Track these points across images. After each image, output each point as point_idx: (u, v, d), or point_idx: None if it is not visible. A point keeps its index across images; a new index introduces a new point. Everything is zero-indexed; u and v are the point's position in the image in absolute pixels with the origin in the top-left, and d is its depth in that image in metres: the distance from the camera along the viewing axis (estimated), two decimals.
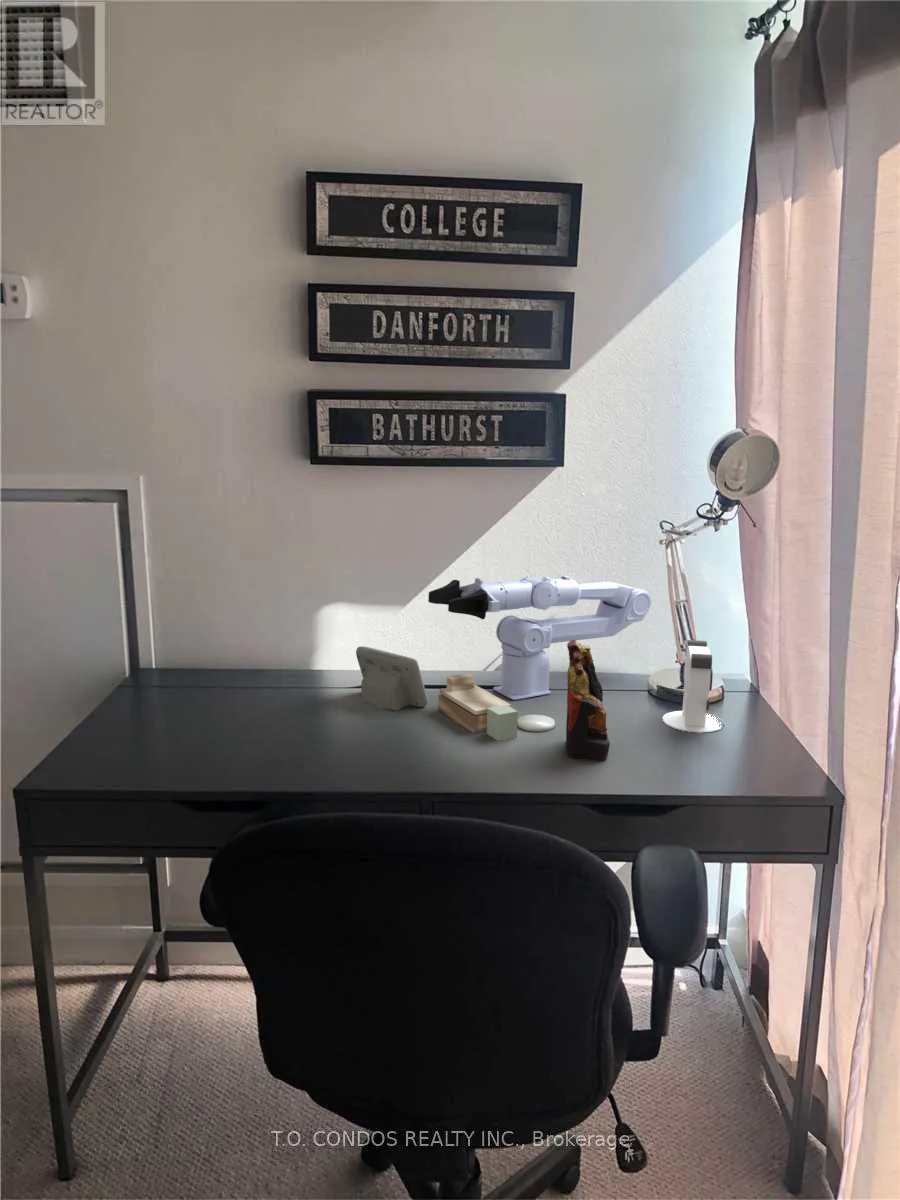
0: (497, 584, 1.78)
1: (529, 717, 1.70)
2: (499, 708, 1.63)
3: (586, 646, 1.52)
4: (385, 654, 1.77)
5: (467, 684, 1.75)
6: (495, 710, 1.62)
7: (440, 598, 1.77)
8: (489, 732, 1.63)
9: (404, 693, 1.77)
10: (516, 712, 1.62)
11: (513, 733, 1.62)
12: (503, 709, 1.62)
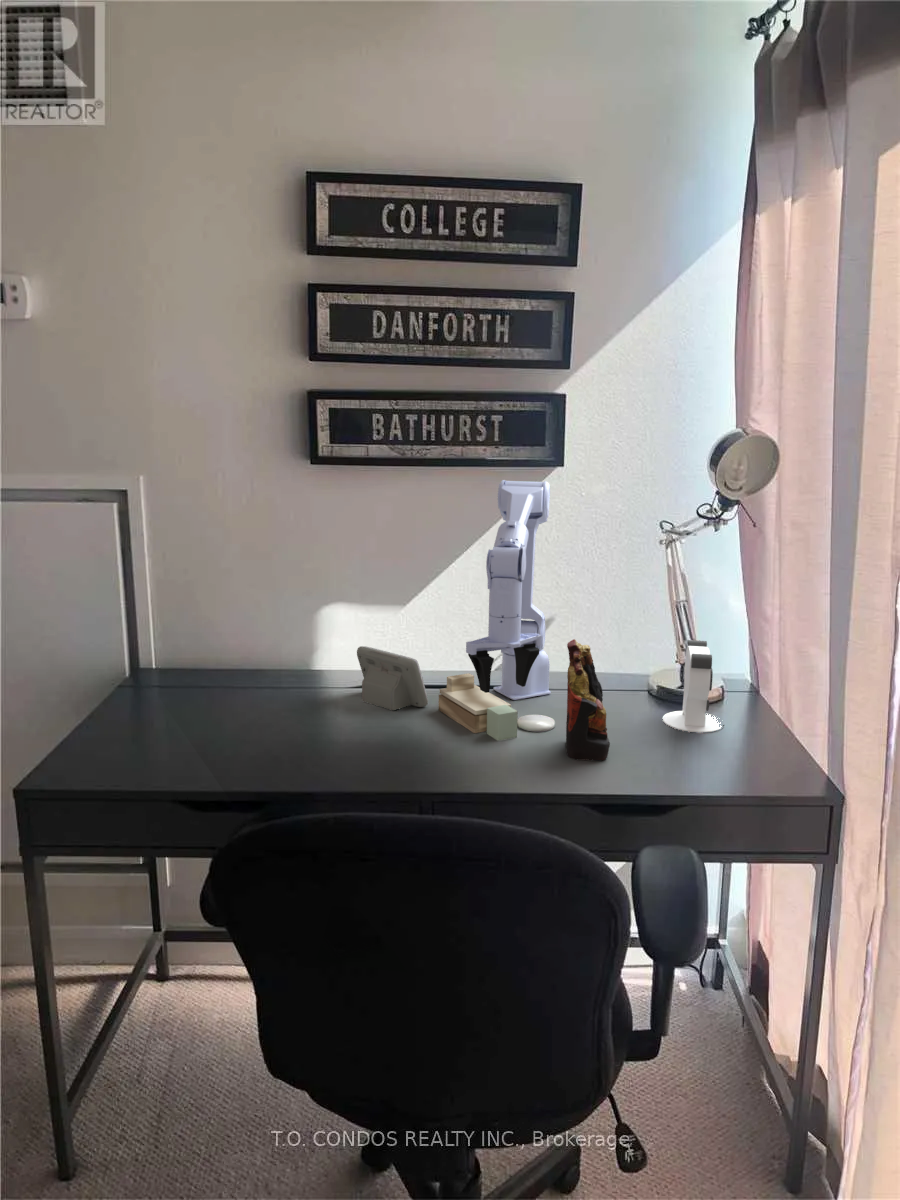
0: (517, 622, 1.57)
1: (529, 717, 1.70)
2: (499, 708, 1.63)
3: (586, 646, 1.52)
4: (386, 654, 1.77)
5: (467, 684, 1.75)
6: (495, 710, 1.62)
7: None
8: (489, 732, 1.63)
9: (405, 693, 1.77)
10: (516, 712, 1.62)
11: (513, 733, 1.62)
12: (503, 709, 1.62)
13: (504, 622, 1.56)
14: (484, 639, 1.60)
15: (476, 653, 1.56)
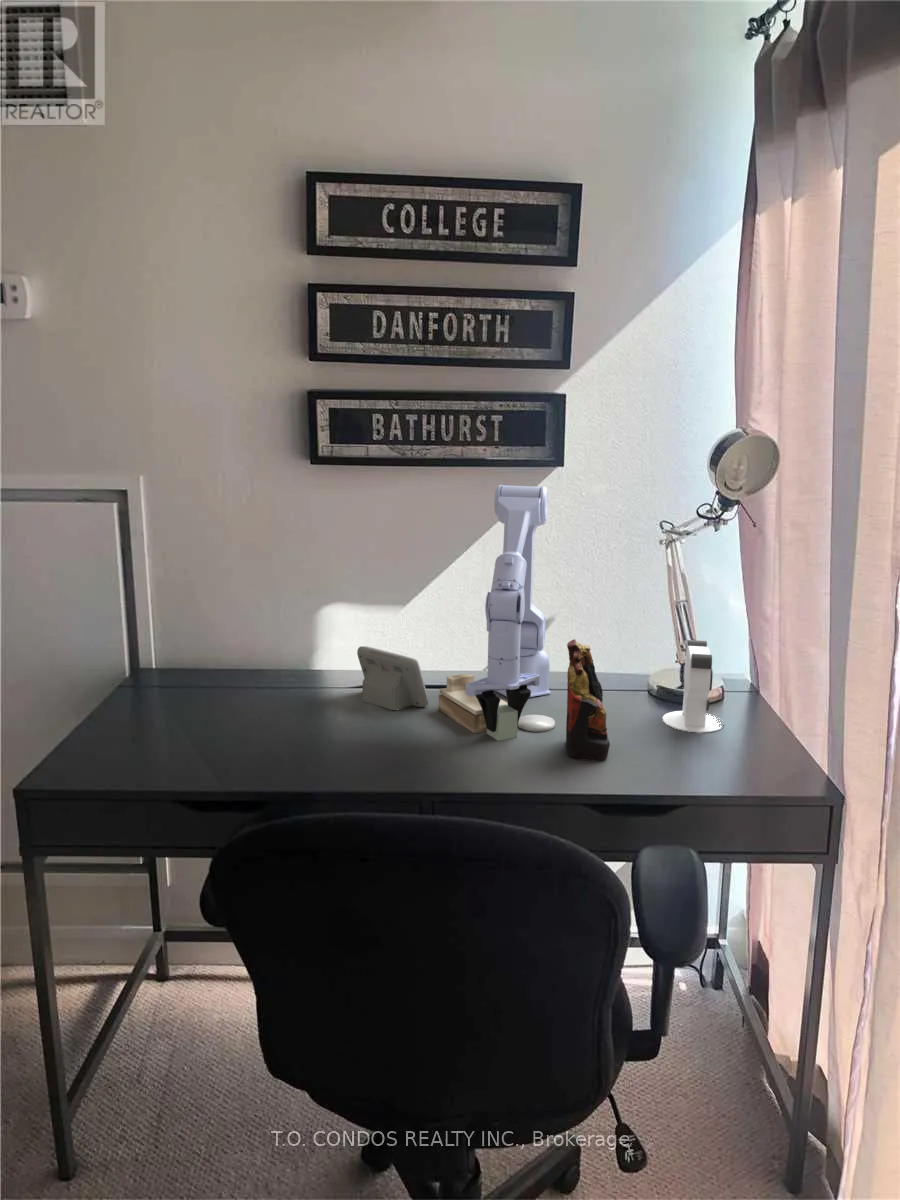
0: (515, 664, 1.59)
1: (529, 717, 1.70)
2: (499, 707, 1.63)
3: (586, 646, 1.52)
4: (386, 654, 1.77)
5: None
6: None
7: None
8: (489, 732, 1.63)
9: (405, 693, 1.77)
10: (516, 712, 1.62)
11: (513, 733, 1.62)
12: (503, 709, 1.62)
13: (502, 664, 1.58)
14: (483, 680, 1.61)
15: (475, 695, 1.58)
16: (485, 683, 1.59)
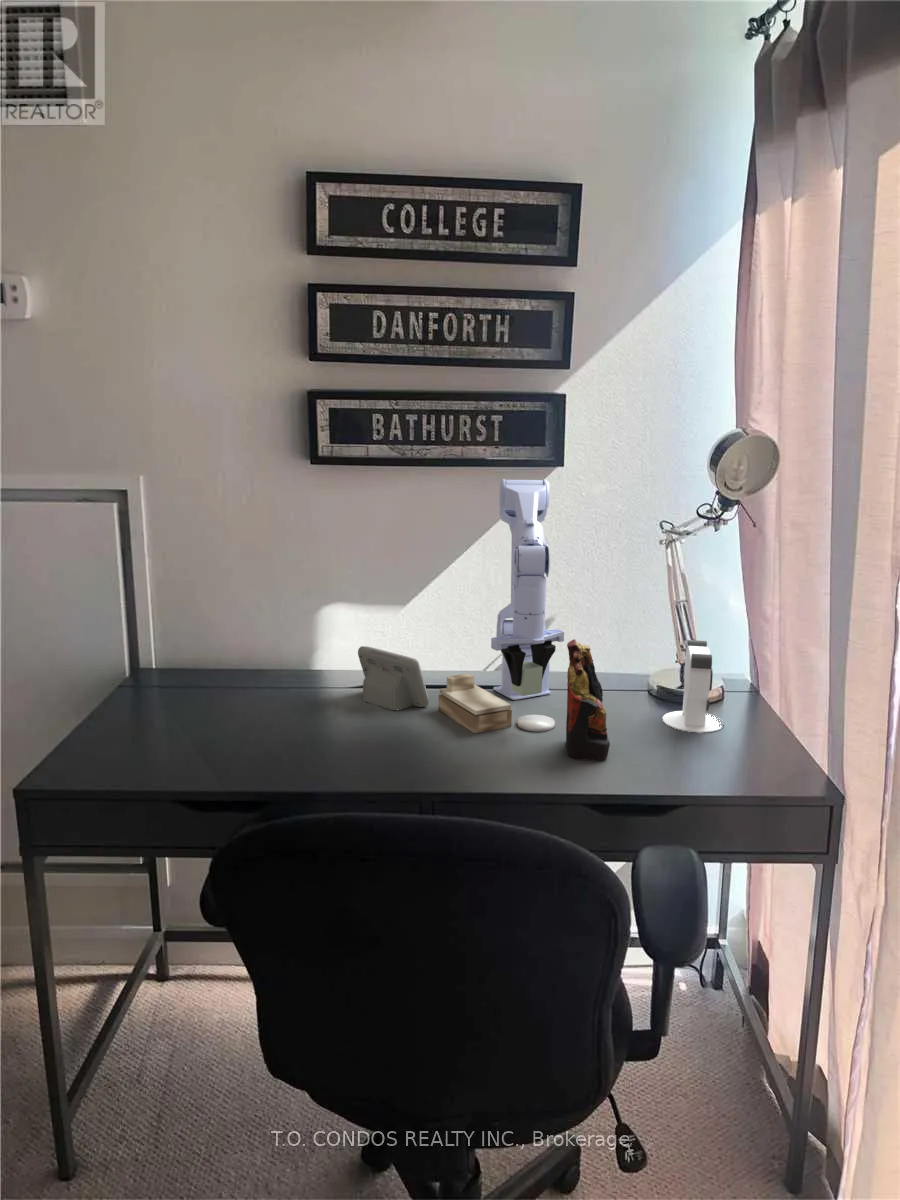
0: (541, 618, 1.61)
1: (529, 717, 1.70)
2: (524, 664, 1.65)
3: (586, 646, 1.52)
4: (386, 654, 1.77)
5: (467, 684, 1.75)
6: None
7: None
8: (514, 688, 1.66)
9: (405, 693, 1.77)
10: (541, 668, 1.64)
11: (538, 688, 1.64)
12: (528, 665, 1.65)
13: (528, 619, 1.60)
14: (508, 635, 1.64)
15: (501, 649, 1.60)
16: (511, 638, 1.61)
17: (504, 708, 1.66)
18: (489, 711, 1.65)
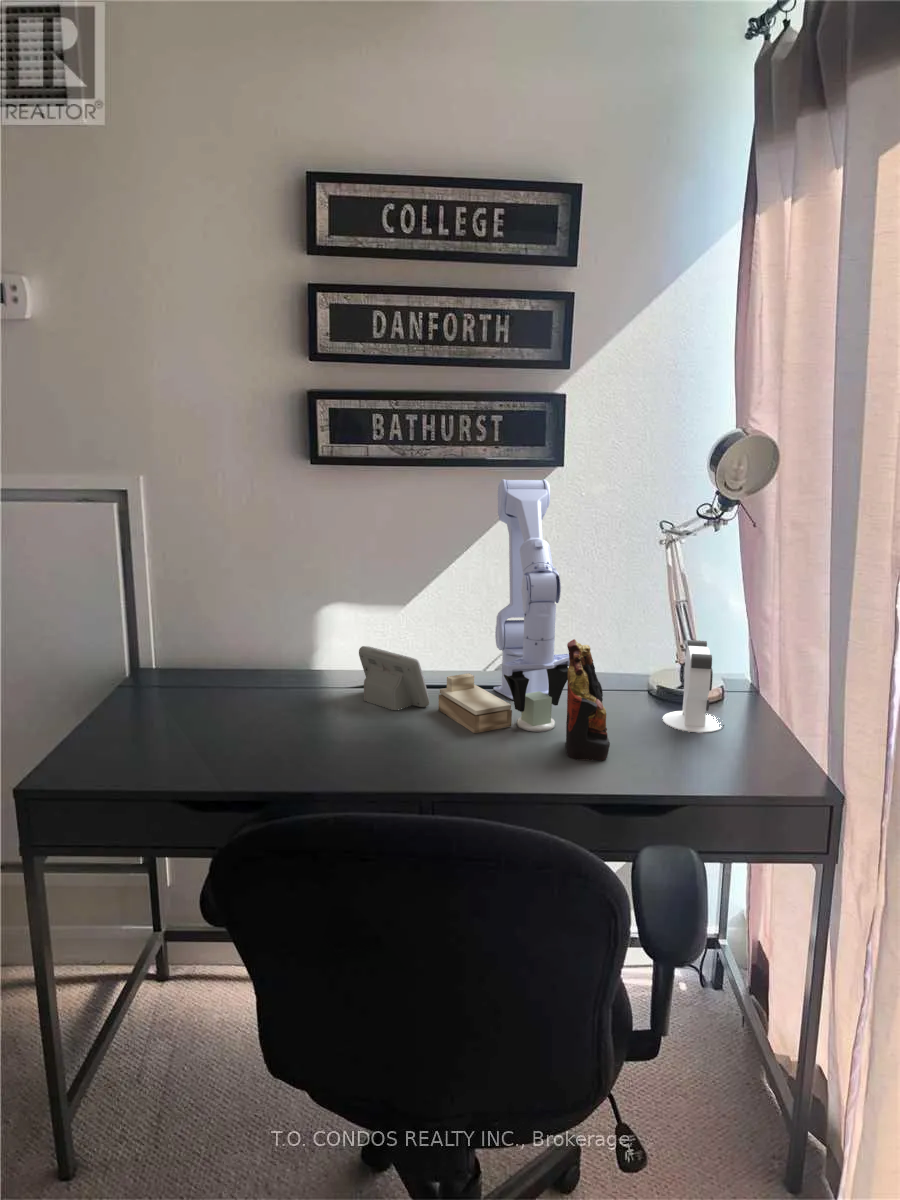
0: (551, 644, 1.63)
1: None
2: (533, 694, 1.68)
3: (586, 646, 1.52)
4: (387, 654, 1.77)
5: (467, 684, 1.75)
6: (530, 696, 1.67)
7: None
8: (524, 718, 1.68)
9: (406, 693, 1.77)
10: (550, 698, 1.67)
11: (547, 718, 1.67)
12: (537, 695, 1.68)
13: (538, 645, 1.62)
14: (519, 660, 1.66)
15: (512, 674, 1.63)
16: (521, 663, 1.64)
17: (504, 708, 1.66)
18: (489, 711, 1.65)
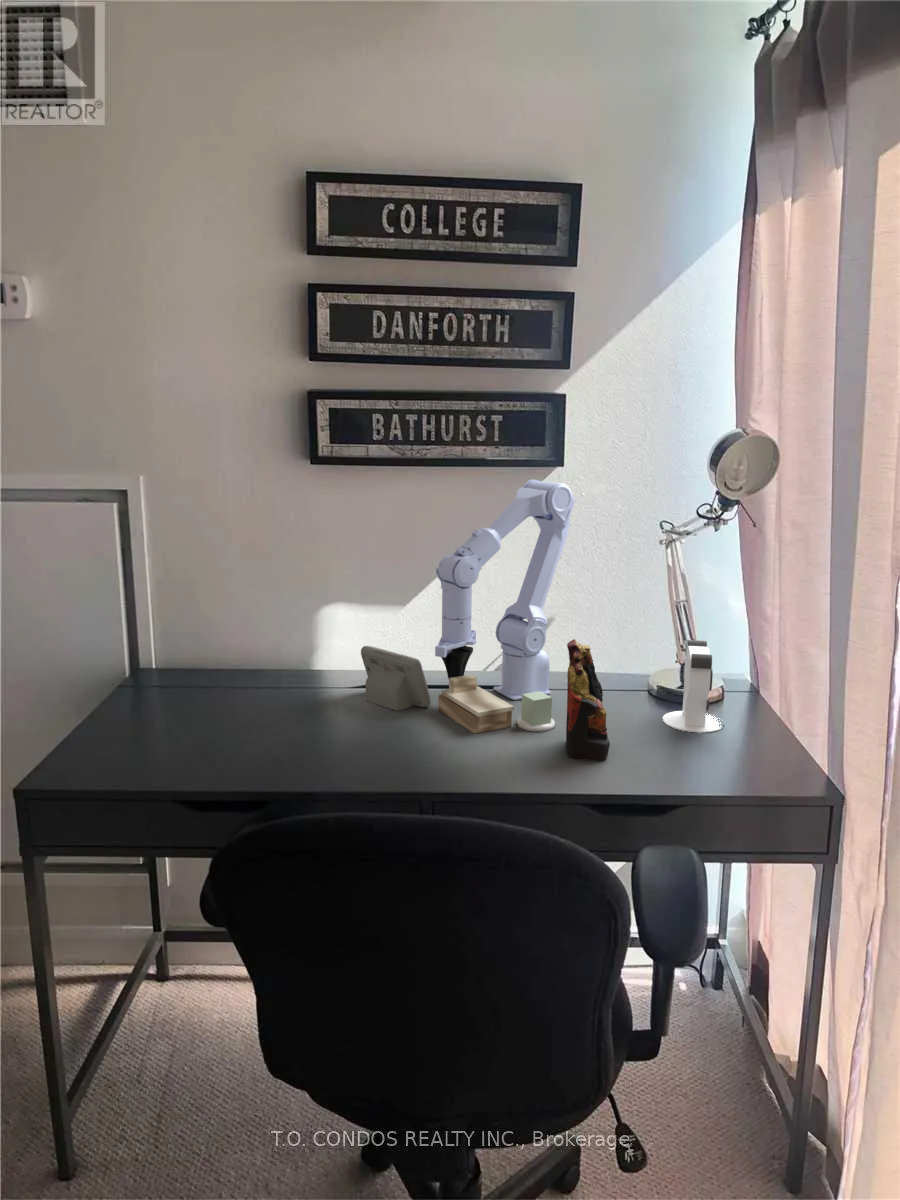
0: None
1: None
2: (533, 694, 1.68)
3: (586, 646, 1.52)
4: (389, 654, 1.77)
5: (469, 686, 1.74)
6: (530, 696, 1.67)
7: None
8: (524, 718, 1.68)
9: (407, 693, 1.77)
10: (550, 698, 1.67)
11: (547, 718, 1.67)
12: (537, 695, 1.68)
13: (463, 623, 1.72)
14: (440, 642, 1.74)
15: (446, 655, 1.70)
16: (448, 643, 1.72)
17: (507, 710, 1.66)
18: (492, 713, 1.64)
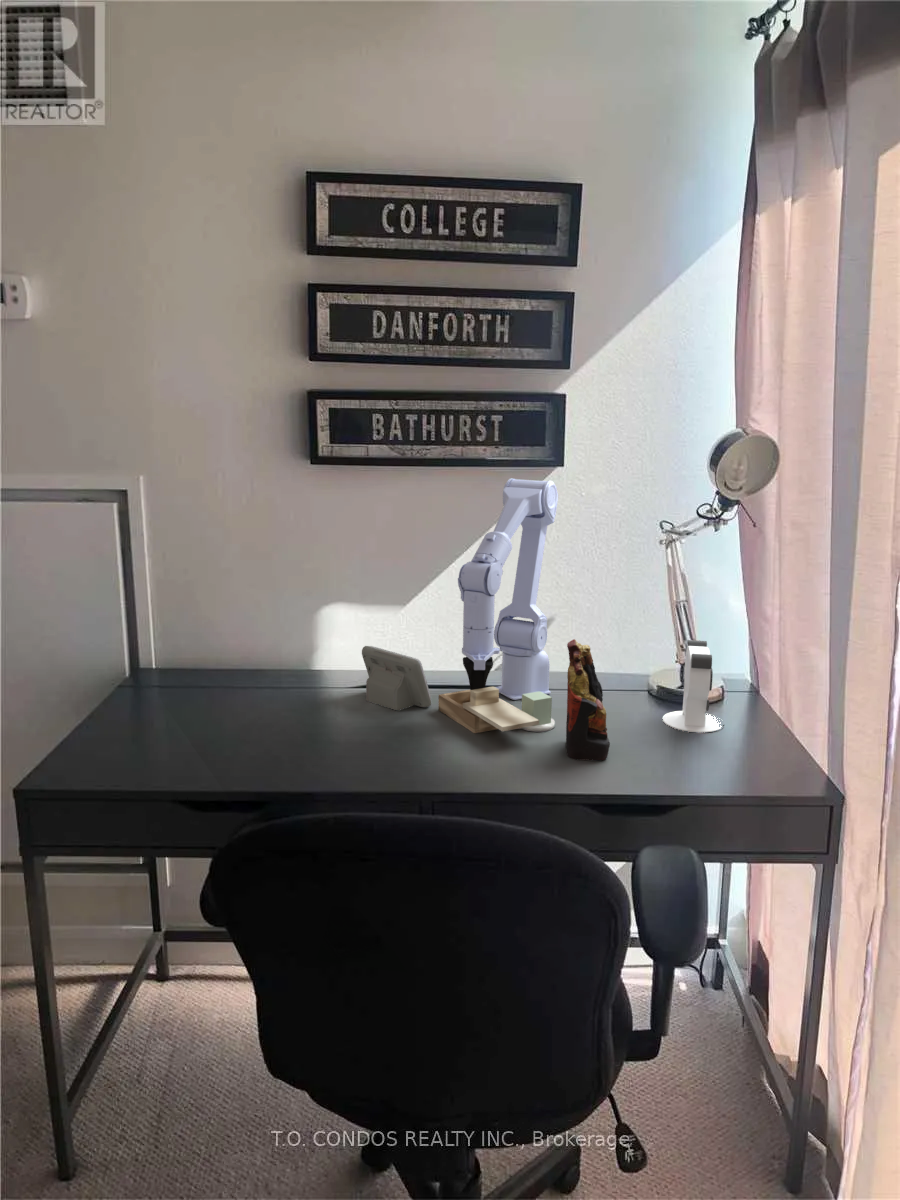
0: None
1: None
2: (533, 694, 1.68)
3: (586, 646, 1.52)
4: (389, 654, 1.77)
5: (491, 698, 1.67)
6: (530, 696, 1.67)
7: None
8: None
9: (408, 693, 1.77)
10: (550, 698, 1.67)
11: (547, 718, 1.67)
12: (537, 695, 1.68)
13: (491, 632, 1.66)
14: None
15: None
16: (479, 655, 1.65)
17: (532, 724, 1.58)
18: (516, 727, 1.57)
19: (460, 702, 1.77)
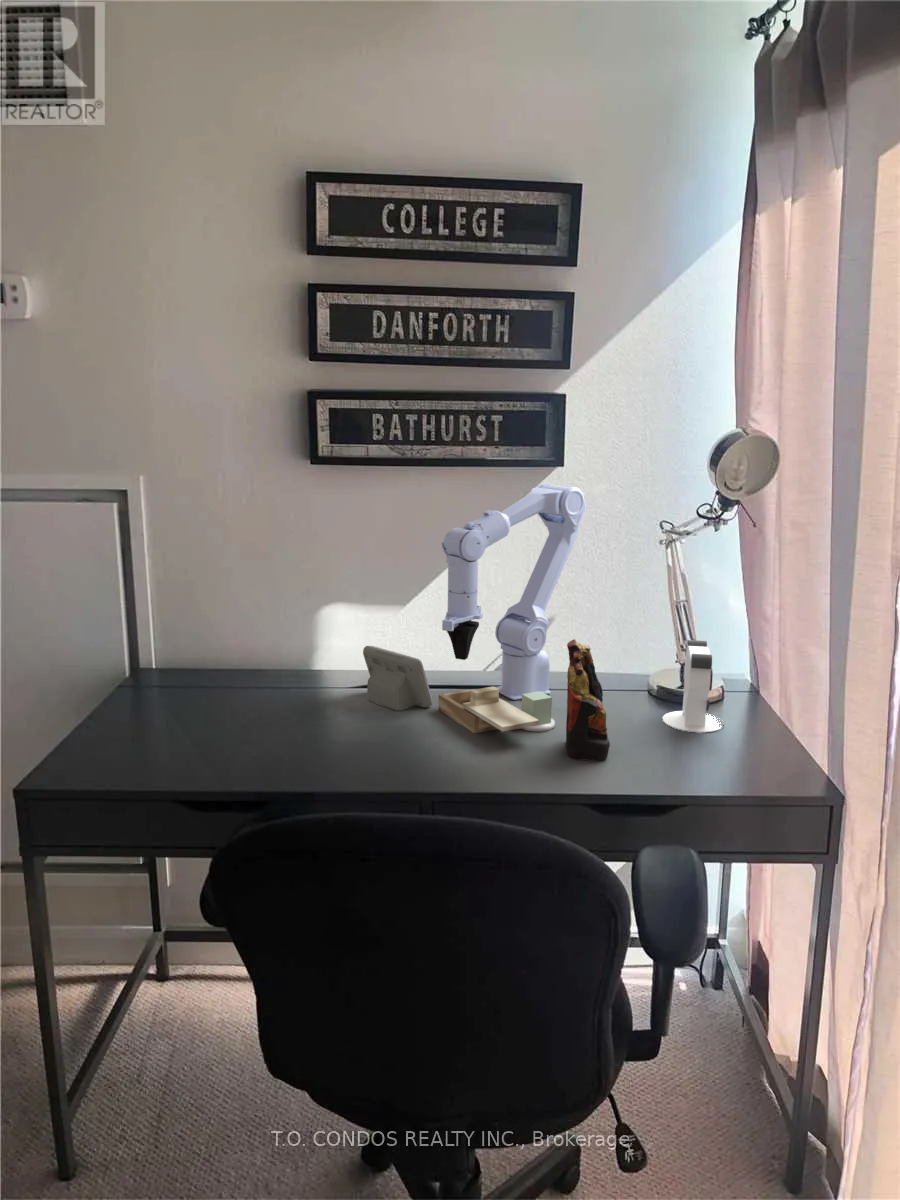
0: None
1: None
2: (533, 694, 1.68)
3: (586, 646, 1.52)
4: (390, 654, 1.77)
5: (491, 698, 1.67)
6: (530, 696, 1.67)
7: None
8: None
9: (409, 693, 1.77)
10: (550, 698, 1.67)
11: (547, 718, 1.67)
12: (537, 695, 1.68)
13: (470, 597, 1.71)
14: (447, 616, 1.72)
15: (453, 629, 1.69)
16: (455, 617, 1.71)
17: (532, 724, 1.58)
18: (516, 727, 1.57)
19: (460, 702, 1.77)
